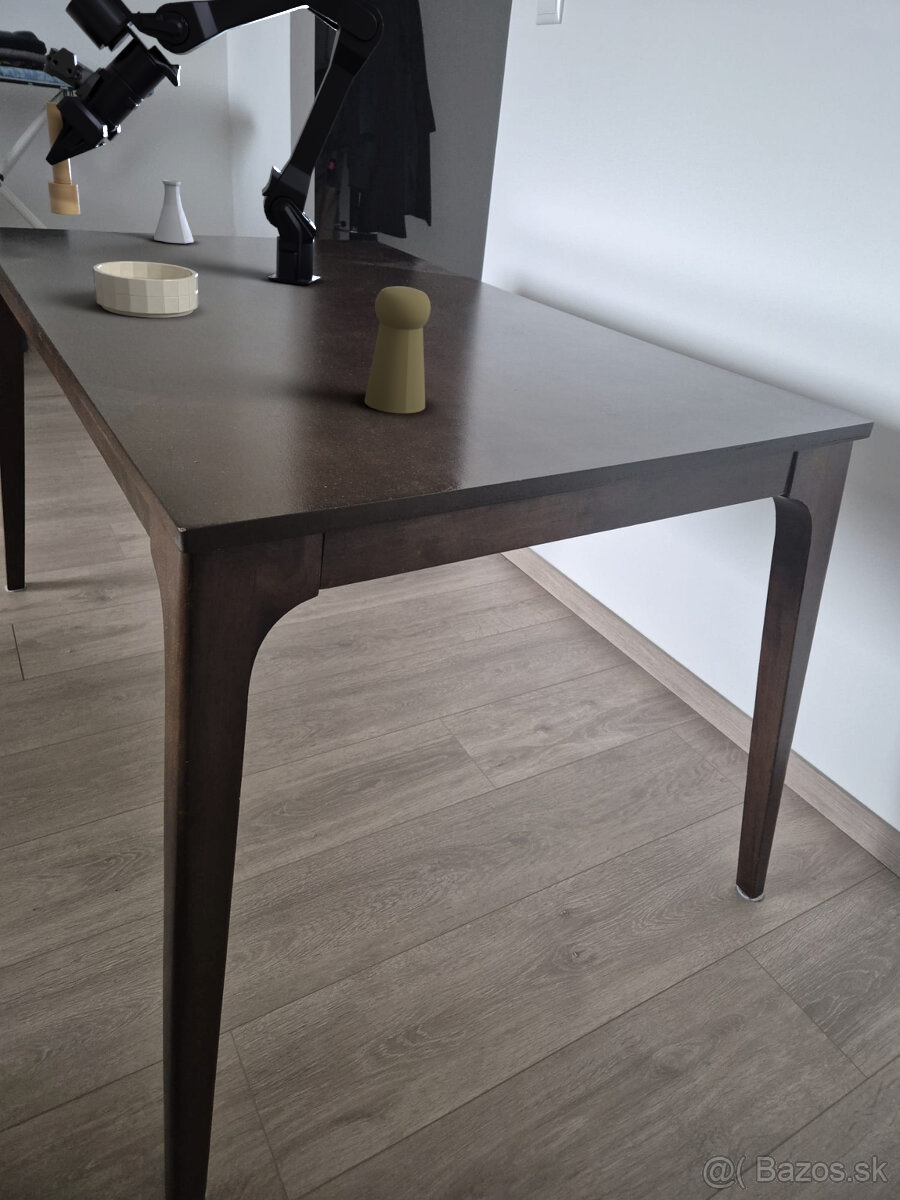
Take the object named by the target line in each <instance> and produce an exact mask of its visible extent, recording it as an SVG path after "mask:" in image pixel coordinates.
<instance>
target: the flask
mask: <svg viewBox="0 0 900 1200" xmlns="http://www.w3.org/2000/svg"><path fill="white" fill-rule="evenodd" d="M181 184H182V182H181V180H175V179H162V185H164V186H163V188H164V189H163V190H164V195H163V202H162V207H161V211H160V215H159V218H158V221H157V225H156V229H155V232H154V236H153V240H154V241H159V242H164V243H169V244H190V243H191V244H192V243H195V240H194V238H193V235H192V231H191V228H190V225H189V224H188V223H189V222H188V220H187V218H186V214H185V210H184V209H183V206H182V205H183V204H182V200H181V194H180V187H181Z"/></svg>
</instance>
